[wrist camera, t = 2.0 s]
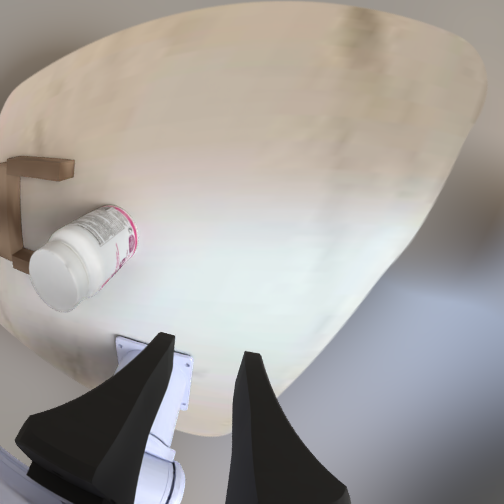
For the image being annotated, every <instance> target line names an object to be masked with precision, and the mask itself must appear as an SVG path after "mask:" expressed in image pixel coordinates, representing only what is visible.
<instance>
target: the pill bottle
mask: <svg viewBox="0 0 504 504" xmlns="http://www.w3.org/2000/svg"><path fill="white" fill-rule="evenodd" d="M138 239H139V237H138V230H137V227H136V224H135V222H134V220H133V219H132V218H131V216H130V215H129V214H128V213H127V212H126V211H125V210H123V209H122V208H120V207H117V206H113V205H107V206H103V207H100V208H98V209H96V210H94V211H92V212H90V213H88V214H86V215H84V216H82V217H80V218H78V219H76V220H75V221H73V222H71V223H69V224H67V225H65V226H64V227H62V228H60V229H59V230H57V231H56V232H54V233H53V234H52V236H51V237H50V239H49V241H48V243H47V244H45V245H44V246H42V247H41V248H39V249H38V250H36V251H35V252H34V253H33V255H32V256H31V259H30V263H29V274H30V278H31V282H32V284H33V287H34V289H35V290H36V292H37V294H38V295H39V297H40V298H41V299H42V300H43V301H44V302H45V303H46V304H47V305H48V306H49V307H51V308H52V309H54V310H56V311H59V312H69V311H71V310H73V309H74V308H75V307H76V306H77V305H78V304H79V303H80V302H82V301H83V299H85V298H89V297H92V296H93V295H95V294H96V293H97V292H98V291H99V290H100V289H101V288H102V287H103V286H104V285H105V284H106V283H107V282H108V281H109V280H110V278H112V276H113V275H114V274H115V273H116V272H117V271H118V270H119V269H120V268H121V267H122V266H123V265H124V264H125V263H126V262H127V261H128V260H129V259H130V258H131V257H132V255H133V254H134V253H135V251H136V249H137V246H138Z"/></svg>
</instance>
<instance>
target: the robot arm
mask: <svg viewBox="0 0 504 504" xmlns="http://www.w3.org/2000/svg"><path fill="white" fill-rule="evenodd" d="M115 341H116V349H117V357H118V364H119V365H118V367H117V369H116V371H115V373H114V375H113V376H112V377H111V378H109V379H108V380H106V381H105V382H104V383H102V384H101V385H99V386H98V387H96V388H94V389H93V390H91V391H89V392H87V393H86V394H84V395H82V396H81V397H79V398H76V399H74V400H72V401H70V402H68V403H65V404H63V405H61V406H58V407H56V408H53V409H50V410H47V411H44V412H41V413H37V414H34V415H30V416H29V418H28V419H27V420H26V421H25V423H24V424H23V426H22V428H21V429H20V431H19V433H18V435H17V437H16V439H15V442H16V444H17V446H18V447H19V448H20V449H21V450H22V451H23V452H24V453H25V454H26V455H27V456H28V457H29V458H30V459H31V460H32V463H31V465H30V467H28V466H27V465H25V464H24V463H22V462H21V461H20V460H18V459H17V458H15V457H14V456H13V455H11V454H10V453H9V452H7V451H6V450H5V449H4V448H2V447H1V446H0V504H180V502H181V499H182V497H183V493H184V487H185V475H184V471H183V470H182V467H181V465H180V463H179V462H177V461H174V456H175V450H172V449H170V445H171V441H172V437H173V433H174V429H175V425H176V422H177V418H178V414H179V410H187V409H188V401H189V393H190V384H191V376H192V368H193V358H192V357H191V356H188V355H183V354H179V353H175V352H174V344H175V336H174V335H171V334H167V333H163V332H160V333H158V334H157V335H156V337H155V338H154V339H153V340H152V341H151V342H150V343H149V344H148V345H146V344H143V343H140V342H136V341H133V340H130V339H127V338H124V337H121V336H118V337H117V338H116V340H115ZM120 344H121V345H120ZM186 363H188V364H186ZM225 504H351V501H350V496H349V493H348V490H347V487H346V486H345V485H344V484H343V483H341V482H340V481H339V480H338V479H337V478H336V477H334V476H333V475H332V474H331V473H330V472H329V471H328V470H327V469H326V468H325V467H324V466H323V465H322V464H321V463H320V462H319V461H318V460H317V459H316V458H315V456H314V455H313V454H312V453H311V452H310V451H309V449H308V448H307V447H306V446H305V444H304V443H303V442H302V440H301V439H300V438H299V436H298V435H297V434H296V432H295V431H294V429H293V427H292V426H291V424H290V423H289V421H288V419H287V418H286V416H285V414H284V412H283V411H282V408H281V406H280V405H279V402H278V400H277V398H276V396H275V394H274V391H273V389H272V387H271V384H270V382H269V379H268V376H267V373H266V370H265V367H264V364H263V360H262V356H261V355H260V354H259V353H253V352H247V351H245V352H244V355H243V359H242V362H241V365H240V369H239V372H238V375H237V379H236V382H235V389H234V396H233V414H232V456H231V465H230V473H229V481H228V489H227V495H226V502H225Z"/></svg>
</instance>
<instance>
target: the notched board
mask: <svg viewBox="0 0 504 504" xmlns="http://www.w3.org/2000/svg"><path fill="white" fill-rule="evenodd" d="M74 164H75V160H68V159H57V158H45V157H30V156H19V157H14V158H9V159H7V162H3V163H0V256H1V257H3V258H5V259H8V260H10V261H12V262H13V268H15V269H17V270H20V271H22V272H24V273H26V274H29V263H30V259H31V256H32V255H33V253H34V251H31V250H28V249H25V248H23V240H22V228H21V212H20V176H24V177H31V178H39V179H46V180H53V181H62V180H65V179H68V178H72V177H73V176H74ZM29 275H30V274H29Z"/></svg>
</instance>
